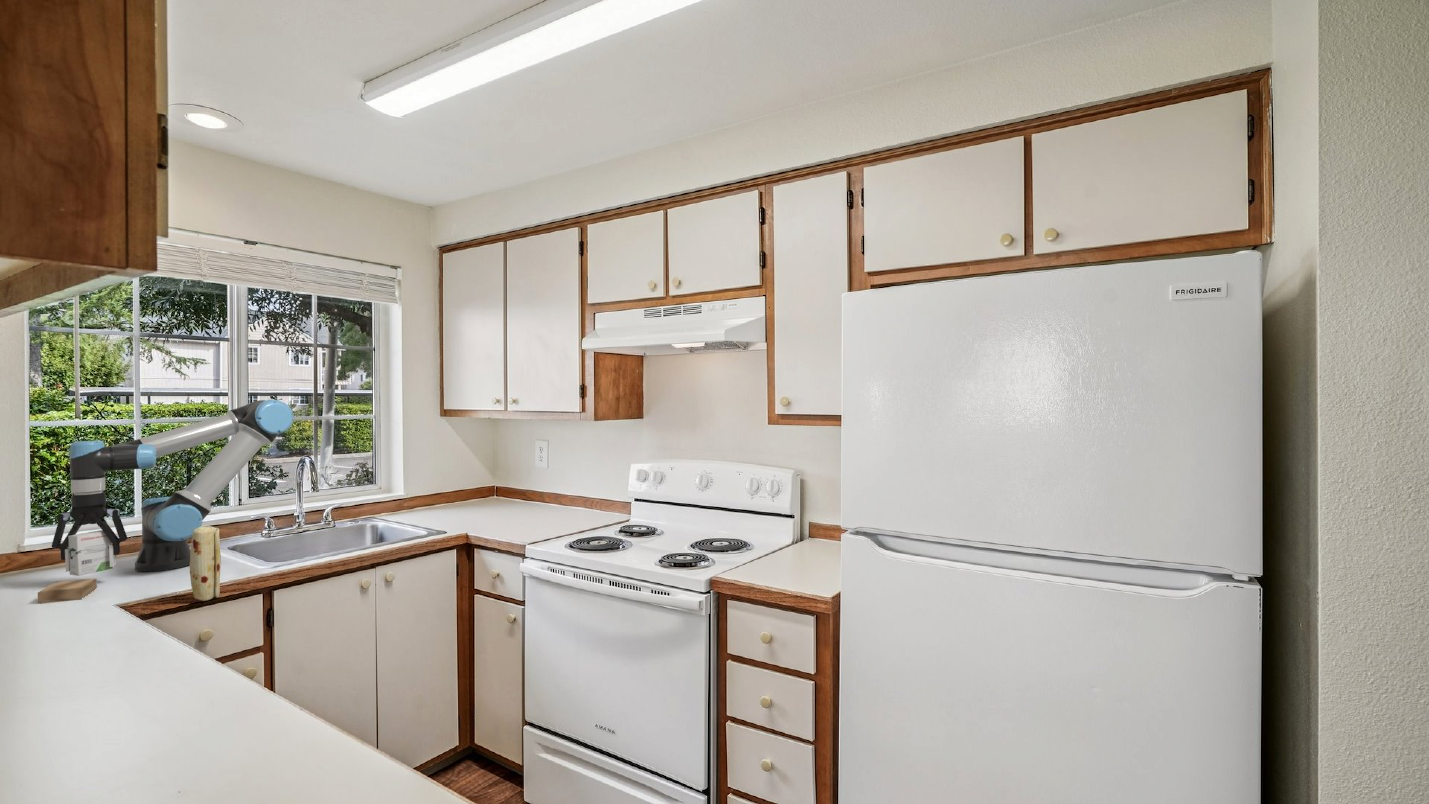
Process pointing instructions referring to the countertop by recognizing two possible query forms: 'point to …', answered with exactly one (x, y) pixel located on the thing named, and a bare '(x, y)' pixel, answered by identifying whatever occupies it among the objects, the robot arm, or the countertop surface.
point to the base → (67, 590)
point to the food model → (205, 563)
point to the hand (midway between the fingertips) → (91, 568)
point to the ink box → (89, 553)
